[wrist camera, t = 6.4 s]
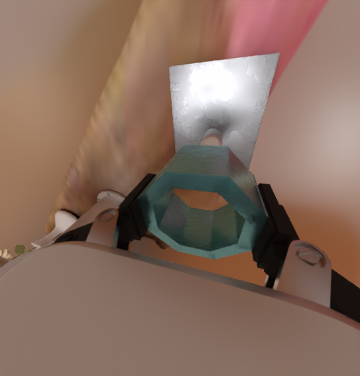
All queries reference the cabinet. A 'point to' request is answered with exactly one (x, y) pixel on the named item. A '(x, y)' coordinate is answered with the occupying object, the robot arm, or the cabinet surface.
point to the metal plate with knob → (221, 102)
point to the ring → (198, 218)
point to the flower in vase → (62, 224)
